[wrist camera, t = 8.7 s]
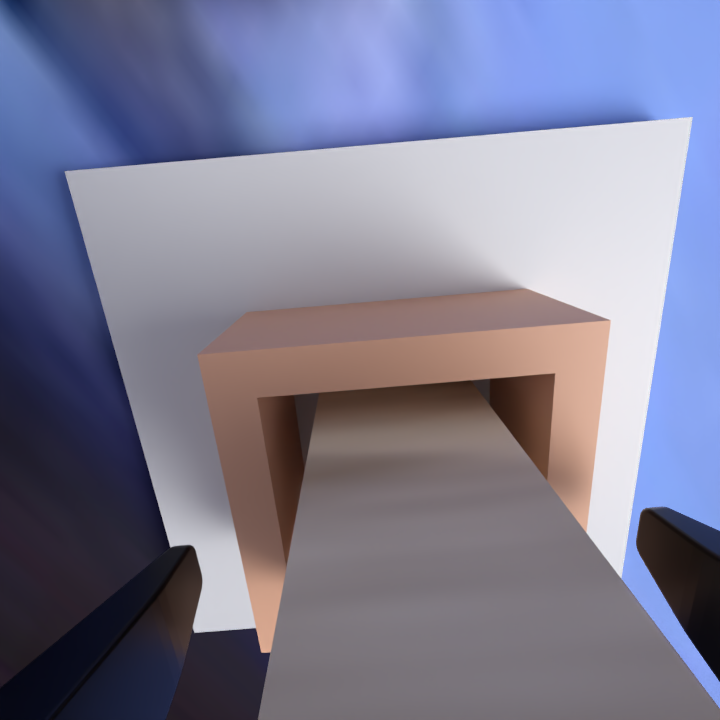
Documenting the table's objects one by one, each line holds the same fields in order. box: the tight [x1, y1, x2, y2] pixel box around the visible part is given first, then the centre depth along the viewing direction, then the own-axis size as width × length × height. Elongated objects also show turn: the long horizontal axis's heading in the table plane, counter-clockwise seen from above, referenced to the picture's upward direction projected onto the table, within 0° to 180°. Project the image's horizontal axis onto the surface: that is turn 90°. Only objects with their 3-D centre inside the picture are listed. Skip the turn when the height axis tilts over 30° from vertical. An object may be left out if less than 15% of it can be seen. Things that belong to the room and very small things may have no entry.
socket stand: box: [65, 117, 692, 653], centre depth 12 cm, size 16×16×5 cm
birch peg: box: [258, 380, 720, 720], centre depth 8 cm, size 4×4×10 cm
